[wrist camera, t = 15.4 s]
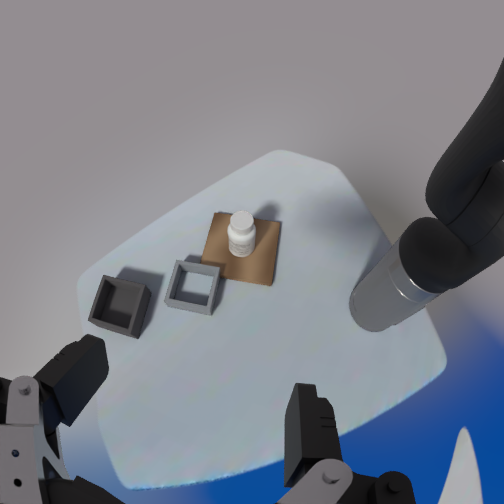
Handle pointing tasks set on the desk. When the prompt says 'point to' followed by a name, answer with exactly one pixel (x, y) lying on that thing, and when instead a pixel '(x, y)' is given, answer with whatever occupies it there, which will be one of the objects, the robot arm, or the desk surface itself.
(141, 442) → the desk surface
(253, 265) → the walnut pad
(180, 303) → the sleeve
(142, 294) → the box
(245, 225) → the pill bottle
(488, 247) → the robot arm
